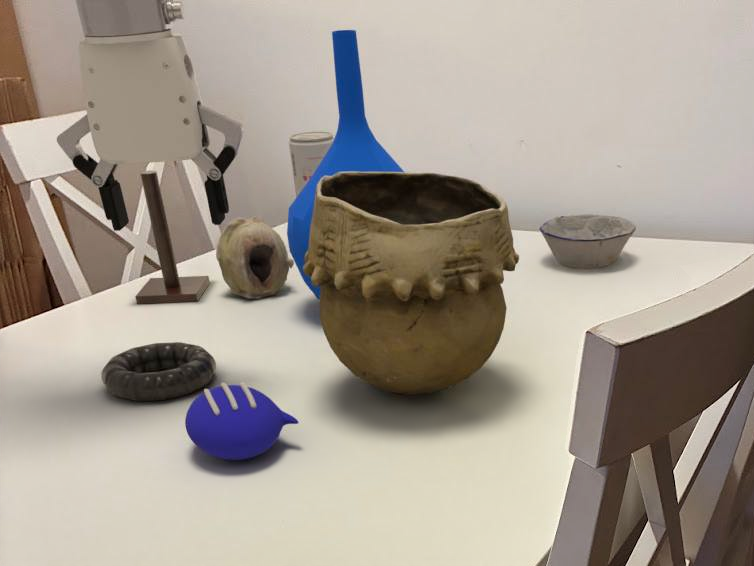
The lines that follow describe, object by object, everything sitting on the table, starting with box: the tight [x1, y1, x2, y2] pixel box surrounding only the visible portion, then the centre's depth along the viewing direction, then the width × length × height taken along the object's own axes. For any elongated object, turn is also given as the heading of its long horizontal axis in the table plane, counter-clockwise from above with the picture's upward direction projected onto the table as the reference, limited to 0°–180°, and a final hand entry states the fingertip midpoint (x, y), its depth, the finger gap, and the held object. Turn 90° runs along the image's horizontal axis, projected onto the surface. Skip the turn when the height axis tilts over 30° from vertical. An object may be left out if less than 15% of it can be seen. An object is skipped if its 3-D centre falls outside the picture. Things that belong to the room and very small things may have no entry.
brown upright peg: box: [135, 170, 211, 305], centre depth 128 cm, size 8×8×15 cm
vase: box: [286, 29, 405, 302], centre depth 116 cm, size 18×18×30 cm
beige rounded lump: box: [215, 215, 295, 300], centre depth 129 cm, size 9×8×10 cm
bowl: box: [539, 213, 637, 270], centre depth 136 cm, size 13×13×5 cm
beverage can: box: [288, 130, 335, 198], centre depth 145 cm, size 7×6×15 cm
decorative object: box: [184, 381, 299, 461], centre depth 91 cm, size 10×6×10 cm
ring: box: [100, 341, 217, 402], centre depth 106 cm, size 12×12×3 cm
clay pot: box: [303, 171, 520, 395], centre depth 97 cm, size 21×21×20 cm
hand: (170, 224), depth 97 cm, fingers open, 9 cm apart
